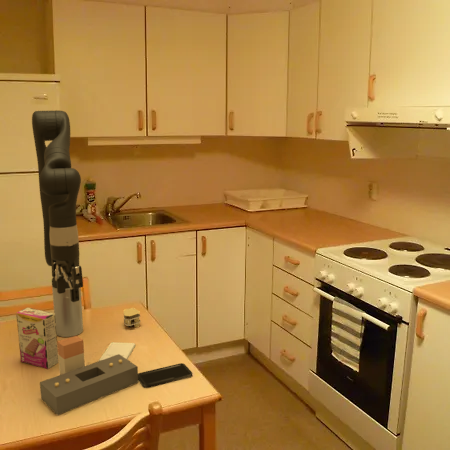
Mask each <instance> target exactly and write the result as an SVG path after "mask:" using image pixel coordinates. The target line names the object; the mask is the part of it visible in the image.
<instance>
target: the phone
mask: <svg viewBox="0 0 450 450" xmlns="http://www.w3.org/2000/svg"><path fill="white" fill-rule="evenodd" d="M192 377H193V372H192V370H191V369H190V368H189V367H188V366H187V365H186V364H185V363H181V362H180V363H176V364H172V365H168V366H163V367H160V368H155V369H151V370H146V371H142V372H138V383H140V385H141V386H142V388H143V389H150V388H153V387H158V386H160V385H167V384H169V383H174V382H177V381H181V380H186V379H190V378H192Z"/></svg>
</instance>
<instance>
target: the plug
mask: <svg viewBox="0 0 450 450" xmlns="http://www.w3.org/2000/svg"><path fill="white" fill-rule="evenodd" d="M57 349H58V362H59V363H58V370H59V375H61V374H64V373H67V372H70V371H73V370H76V369H78V368H81V367H84V366H86V364H85V349H84V339H83V338H81V337H80V336H78V335H75V336H71V337H66V338H64V339H61V340H57Z"/></svg>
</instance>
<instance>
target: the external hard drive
mask: <svg viewBox="0 0 450 450" xmlns="http://www.w3.org/2000/svg"><path fill="white" fill-rule="evenodd" d="M135 348H136V343H134V342H114V341H113V342H110V344H109V345H108V346H107V348H106V350H105V351H104V352H103V354H102V355H101V357H100V358H99V359H98V361H101V360H104V359H107V358H110V357H112V356H115V355H118V354H119V355H121V356H123V357H124V358H126V359H127V360H129V358H130V356H131V354H132V352H133V351H134V349H135Z"/></svg>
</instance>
